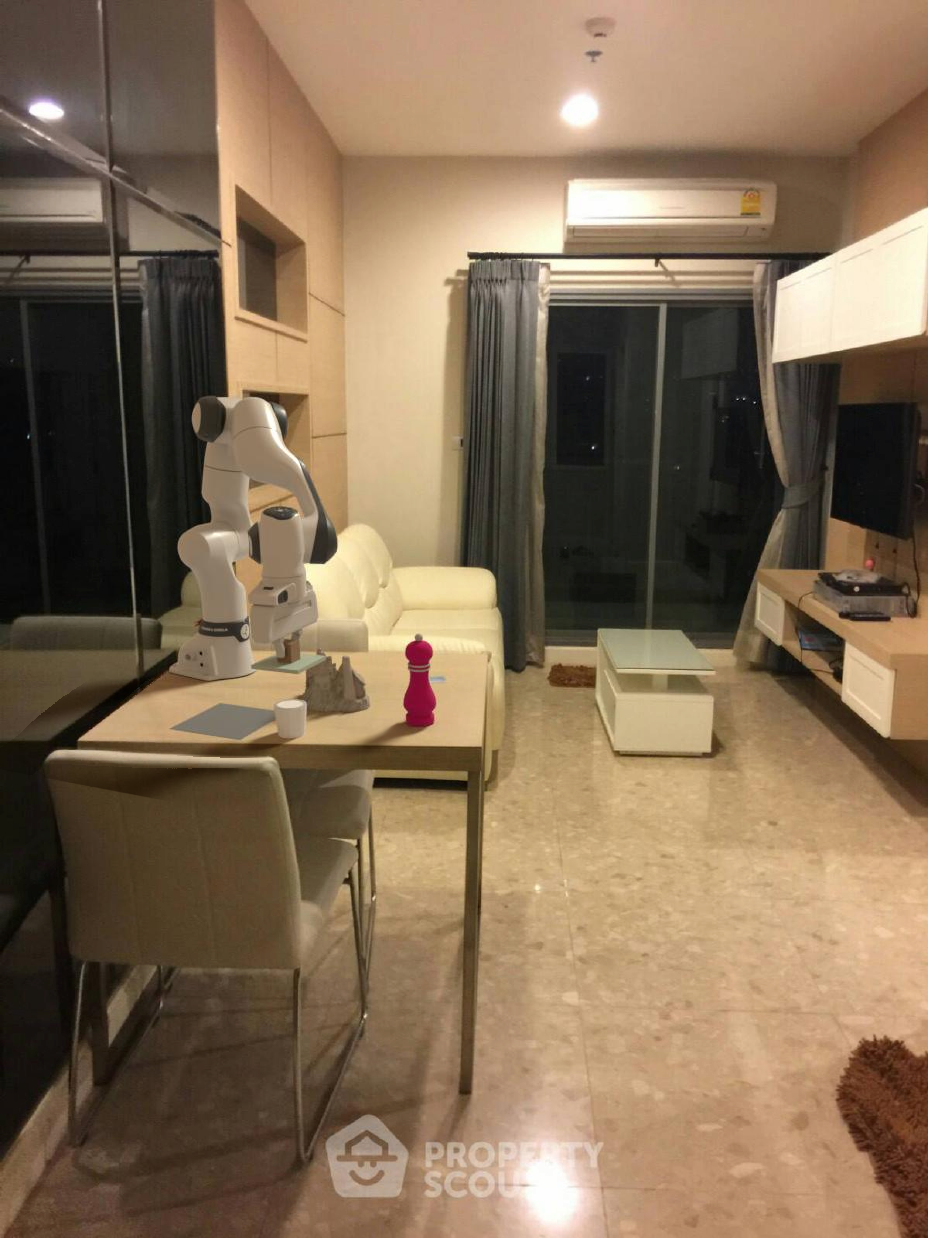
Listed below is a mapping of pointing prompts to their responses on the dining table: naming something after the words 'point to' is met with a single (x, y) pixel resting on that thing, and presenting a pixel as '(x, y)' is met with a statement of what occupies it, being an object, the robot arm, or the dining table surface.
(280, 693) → the dining table surface
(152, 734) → the dining table surface
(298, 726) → the white cup
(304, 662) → the lid
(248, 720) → the mat
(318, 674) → the ceramic cottage
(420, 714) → the pepper mill
